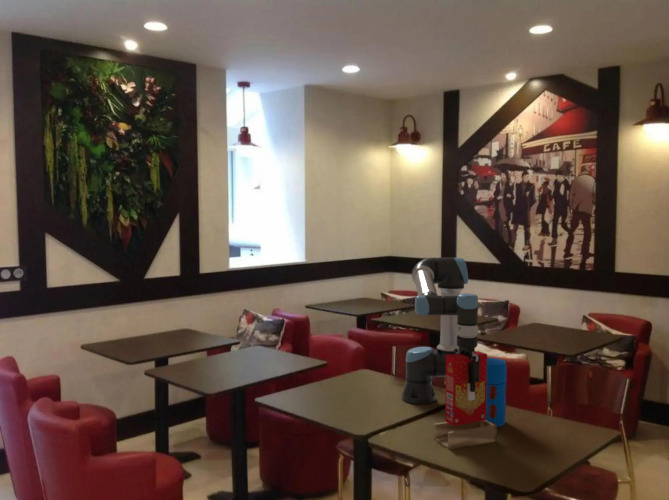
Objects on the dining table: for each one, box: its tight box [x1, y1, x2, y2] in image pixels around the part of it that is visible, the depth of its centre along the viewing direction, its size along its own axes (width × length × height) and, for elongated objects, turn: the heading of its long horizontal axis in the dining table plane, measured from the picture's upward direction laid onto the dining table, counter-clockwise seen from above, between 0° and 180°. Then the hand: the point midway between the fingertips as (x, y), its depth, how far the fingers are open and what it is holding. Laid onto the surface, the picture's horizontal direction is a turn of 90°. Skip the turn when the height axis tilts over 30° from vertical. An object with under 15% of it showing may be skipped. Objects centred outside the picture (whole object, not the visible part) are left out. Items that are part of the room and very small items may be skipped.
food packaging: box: [444, 350, 488, 426], centre depth 226 cm, size 15×5×25 cm, turn 115°
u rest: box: [433, 420, 498, 450], centre depth 227 cm, size 10×20×6 cm, turn 111°
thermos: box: [486, 357, 507, 427], centre depth 246 cm, size 11×11×25 cm
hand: (466, 397), depth 226 cm, fingers closed on food packaging, 5 cm apart
